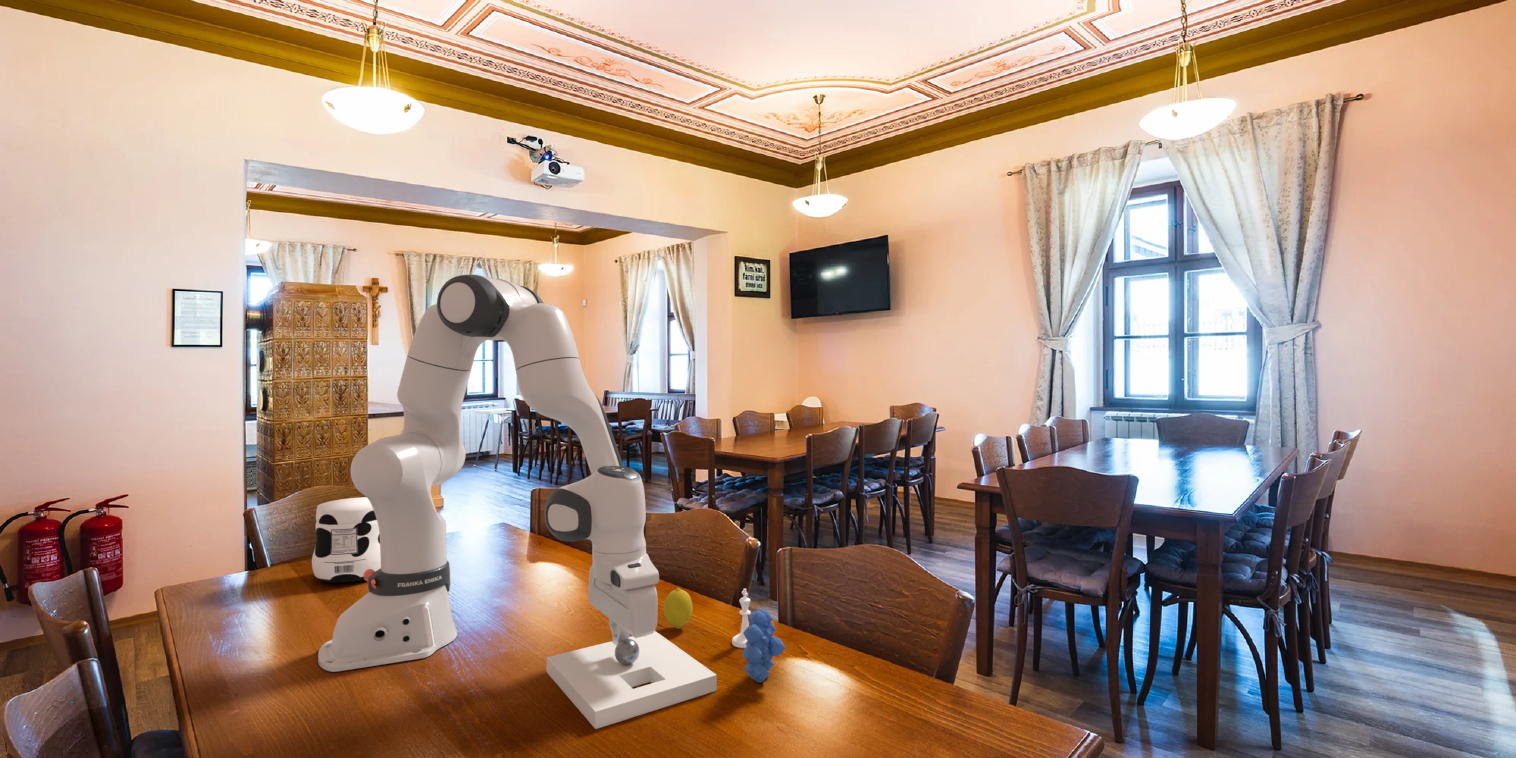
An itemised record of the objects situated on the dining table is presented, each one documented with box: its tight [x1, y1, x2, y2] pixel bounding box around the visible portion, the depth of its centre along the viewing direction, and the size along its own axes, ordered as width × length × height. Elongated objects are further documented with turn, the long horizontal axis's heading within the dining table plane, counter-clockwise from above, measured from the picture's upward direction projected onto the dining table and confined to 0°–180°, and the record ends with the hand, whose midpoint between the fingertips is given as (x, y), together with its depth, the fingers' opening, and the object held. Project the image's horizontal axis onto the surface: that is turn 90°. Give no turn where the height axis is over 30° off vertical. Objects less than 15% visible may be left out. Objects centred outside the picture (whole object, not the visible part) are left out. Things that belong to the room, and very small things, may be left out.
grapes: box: [741, 608, 786, 683], centre depth 112 cm, size 12×7×12 cm, turn 164°
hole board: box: [545, 630, 718, 730], centre depth 113 cm, size 20×22×2 cm
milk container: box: [311, 496, 381, 583], centre depth 168 cm, size 17×17×18 cm
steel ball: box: [615, 639, 639, 665], centre depth 113 cm, size 4×4×4 cm
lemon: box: [663, 587, 693, 630], centre depth 135 cm, size 6×6×8 cm
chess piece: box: [731, 588, 752, 649], centre depth 128 cm, size 5×5×10 cm
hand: (620, 645), depth 116 cm, fingers closed
